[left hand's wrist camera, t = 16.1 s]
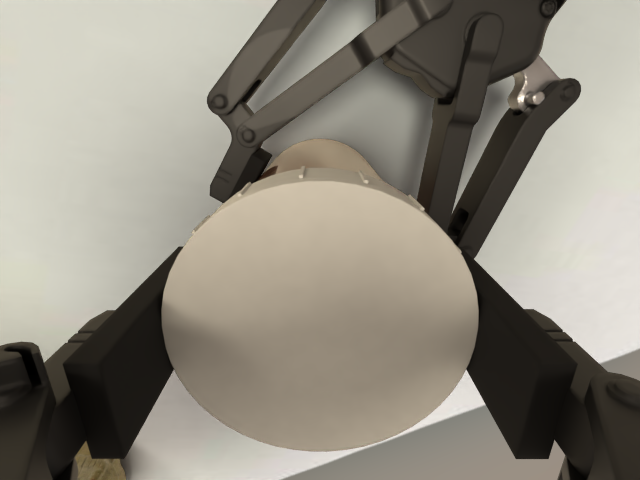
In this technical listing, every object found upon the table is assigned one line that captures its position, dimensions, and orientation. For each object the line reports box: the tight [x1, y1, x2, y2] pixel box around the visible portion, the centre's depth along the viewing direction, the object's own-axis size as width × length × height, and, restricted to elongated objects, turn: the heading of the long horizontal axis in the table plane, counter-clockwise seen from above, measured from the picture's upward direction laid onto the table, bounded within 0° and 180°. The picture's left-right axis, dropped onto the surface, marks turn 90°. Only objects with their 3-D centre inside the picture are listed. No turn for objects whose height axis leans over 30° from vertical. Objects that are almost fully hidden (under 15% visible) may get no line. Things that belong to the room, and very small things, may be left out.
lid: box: [161, 166, 479, 451], centre depth 11 cm, size 9×9×2 cm
